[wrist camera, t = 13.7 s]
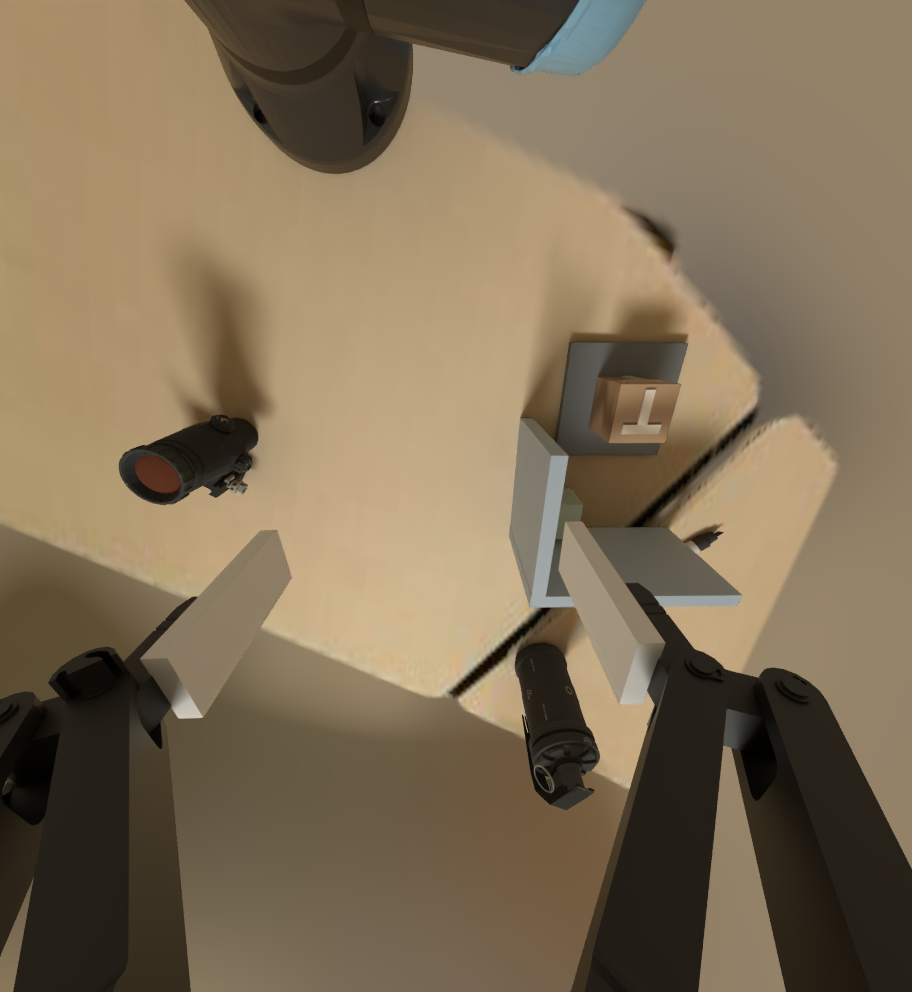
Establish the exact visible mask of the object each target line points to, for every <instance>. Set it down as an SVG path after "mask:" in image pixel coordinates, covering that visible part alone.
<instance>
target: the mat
mask: <svg viewBox="0 0 912 992" xmlns="http://www.w3.org/2000/svg"><path fill="white" fill-rule="evenodd" d="M687 347H688V343H597V342H569V349H568V356H567V363H566V370H565V377H564V384H563V391H562V398H561V406H560V413H559V420H558V427H557V434H556V441H555V442H556V443H557V444H558V445H559V446H560V447H561V448H562V449H563V450H564V451H565V452H566V453H567V454H568V455H657V452H658V449H659V445H660V443H608V442H607V441H605V440H604V439H602V438H601V437H600V436H598V435H597V434H595V433H594V432H592V431H591V430H590V429H588V427H589V421H590V415H591V410H592V404H593V398H594V393H595V387H596V381H597V377H621V376H634V377H651V378H656V379H660V380H665V381H669V382H674V383H677V382H678V378H679V375H680V371H681V368H682V364H683V361H684V357H685V354H686V350H687Z"/></svg>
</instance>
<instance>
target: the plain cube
mask: <svg viewBox="0 0 912 992" xmlns="http://www.w3.org/2000/svg"><path fill="white" fill-rule="evenodd" d="M583 506H584V504H583V503H582V502H581V501H580V499H579V498H578V497H577V495H576V494H575V493H574V492H573V490H572V489H571V488H563V494H562V500H561V506H560V512H559V518H558V525H557V531H556V537H555V539H563V534H564V527H565V522H574V521H581V516H582V511H583Z"/></svg>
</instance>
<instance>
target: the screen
mask: <svg viewBox="0 0 912 992" xmlns="http://www.w3.org/2000/svg"><path fill="white" fill-rule="evenodd" d="M568 457H569V456H568V454H567V453H566V452H565V451H564V450H563V449H562V448H561V447H560V446H559V445H558V444H557V443H556V442H555V441H554V440H553V439H552V438H551V437H550V436H549V435H548V434H547V433H546V432H545V431H544V429H543V428H542V427H541V426H540V425H539V424H538V423H537V422H536V421H535V420H534V419H533V418H520V427H519V438H518V449H517V460H516V471H515V482H514V493H513V504H512V514H511V525H510V533H509V538H510V541H511V545H512V548H513V551H514V555H515V558H516V562H517V565H518V569H519V572H520V576H521V579H522V582H523V586H524V589H525V593H526V596H527V600H528V603H529V607H575V606H574V603H573V601H572V599H571V597H570V594H569V592H568V590H567V588H566V586H565V583H564V581H563V579H562V577H561V574H560V572H559V570H558V569H559V562H560V555H561V548H562V541H563V539H555V537H556V531H557V525H558V518H559V512H560V506H561V500H562V494H563V488H564V482H565V475H566V469H567V463H568ZM586 528H587V529H588V531H589V532H590V534H591V535H592V537H593V538H594V540H595V541H596V542H597V544H598V545H599V547H600V548H601V550H602V551H603V553H604V554H605V556H606V557H607V559H608V560H609V561H610V563H611V564H612V566H613V567H614V569H615V570H616V572H617V573H618V575H619V576H620V577H621V579H622V580H623V582H624V583H639V584H641V585H642V586H643V587H645V588H646V589H647V590H649V591H650V592H651V593H652V594H653V596H654V597H655V598H656V600H657V601H658V602H659V605H661V606H738V604H739V602H740V600H741V598H742V596H743V595H742V594H740V593H739V592H738V591H737V590H736V589H735V588H734V587H733V586H732V585H730V584H729V583H728V582H727V581H726V580H725V579H724V578H723V577H722V576H720V575H719V574H718V573H717V572H716V571H715V570H714V569H713V568H712V567H710V566H709V565H708V564H707V563H706V562H705V561H704V560H703V559H702V558H700V557H699V556H698V555H697V554H696V553H695V552H694V551H693V550H692V549H690V548H689V547H688V546H687V545H686V544H685V543H684V542H683V541H682V540H680V539H679V538H678V537H677V536H676V535H675V534H674V533H673V532H672V531H670V530H669V529H668V528H667V527H586Z"/></svg>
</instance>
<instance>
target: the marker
mask: <svg viewBox="0 0 912 992" xmlns="http://www.w3.org/2000/svg"><path fill="white" fill-rule="evenodd" d="M722 533H723V532H719V531H718V532H716V533H715V534H714V533H713V532H710V533H708V534H705V535H703V536H702V535H699V536H698V537H696V538H694V539H692V540H690V541H688V542H686V543H685V544H686V545H687V546H688V547H689V548H690V549H692V550H693V551H694V552H695V553H696V554H697V553H699V552H700V551H702V550H704V549H706V548H708V547H709V546H710V544H711V543H712V542H714V541H715V540H716V539H718V538H717V536H719V535H721V534H722Z"/></svg>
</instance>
